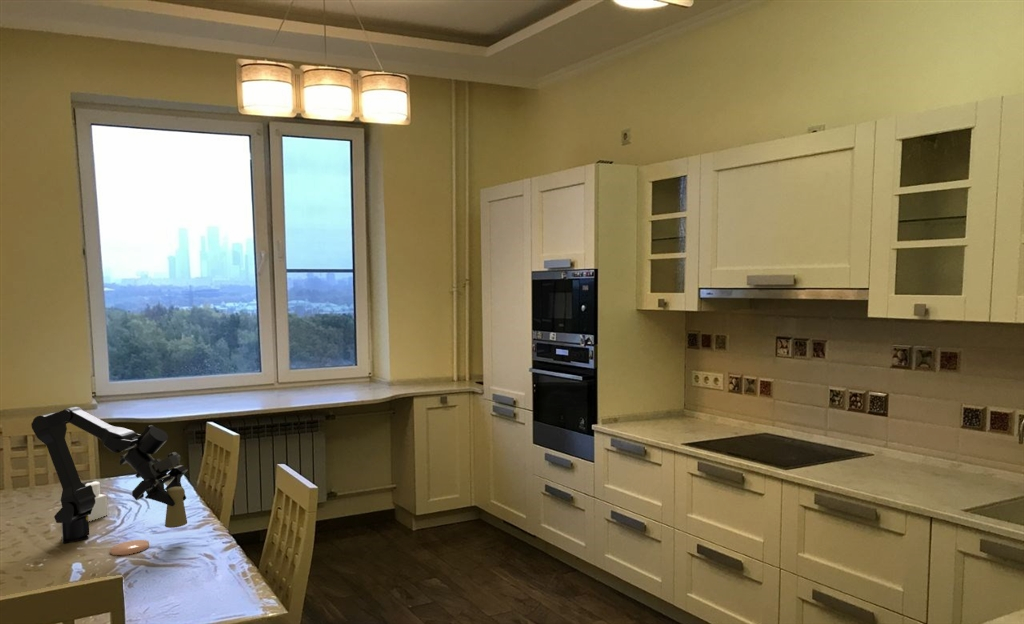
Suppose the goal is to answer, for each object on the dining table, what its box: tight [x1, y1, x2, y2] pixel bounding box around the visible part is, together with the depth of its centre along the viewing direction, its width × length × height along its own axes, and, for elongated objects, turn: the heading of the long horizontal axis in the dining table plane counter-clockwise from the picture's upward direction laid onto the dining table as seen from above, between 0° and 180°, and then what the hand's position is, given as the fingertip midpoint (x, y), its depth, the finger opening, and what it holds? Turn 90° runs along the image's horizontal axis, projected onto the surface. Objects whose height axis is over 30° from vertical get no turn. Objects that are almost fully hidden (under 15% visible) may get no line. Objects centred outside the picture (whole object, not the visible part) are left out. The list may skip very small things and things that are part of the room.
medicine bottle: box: [82, 480, 108, 522], centre depth 231 cm, size 7×7×12 cm
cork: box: [164, 486, 188, 529], centre depth 206 cm, size 6×6×11 cm
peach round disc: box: [109, 539, 150, 556], centre depth 202 cm, size 10×10×1 cm
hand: (179, 502), depth 206 cm, fingers closed on cork, 5 cm apart
